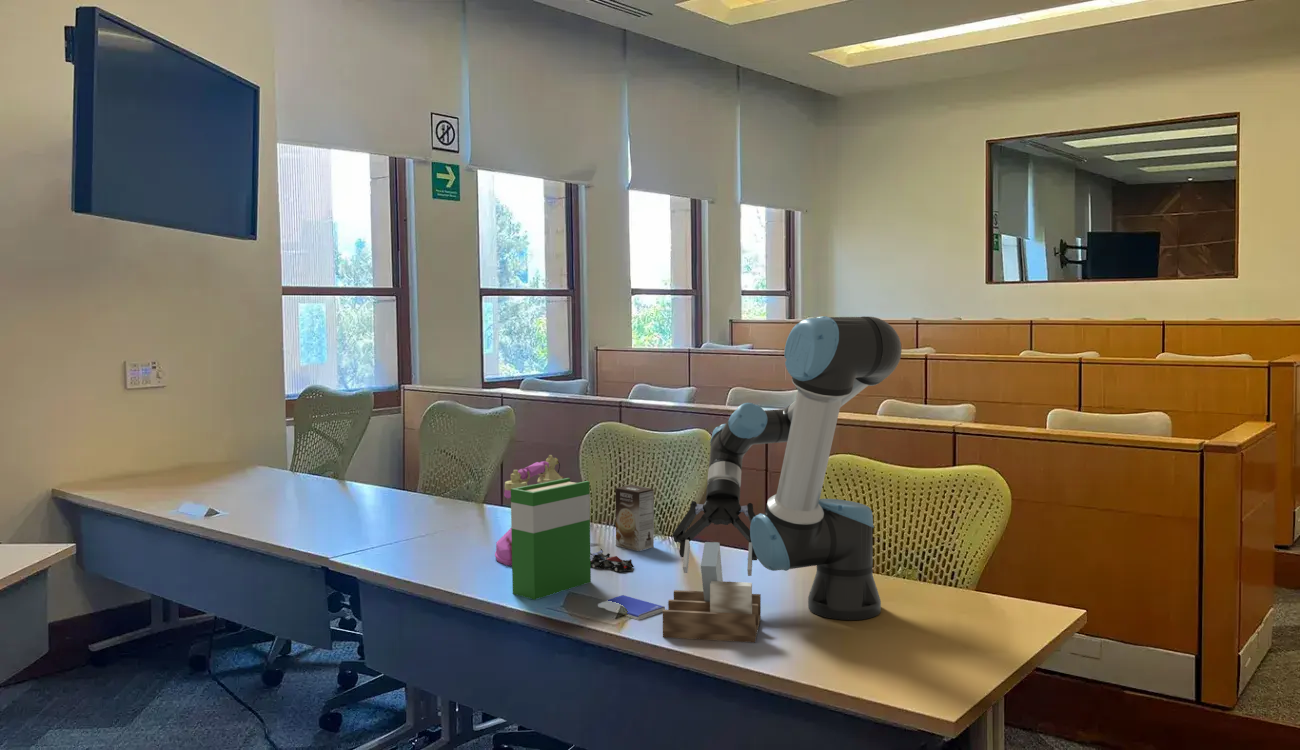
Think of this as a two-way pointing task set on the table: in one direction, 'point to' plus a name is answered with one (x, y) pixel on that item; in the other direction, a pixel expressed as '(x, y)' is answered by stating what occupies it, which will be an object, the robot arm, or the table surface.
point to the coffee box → (635, 517)
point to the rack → (714, 613)
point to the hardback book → (550, 537)
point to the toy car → (610, 562)
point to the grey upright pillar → (710, 566)
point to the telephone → (505, 542)
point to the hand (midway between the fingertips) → (717, 571)
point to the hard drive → (638, 607)
